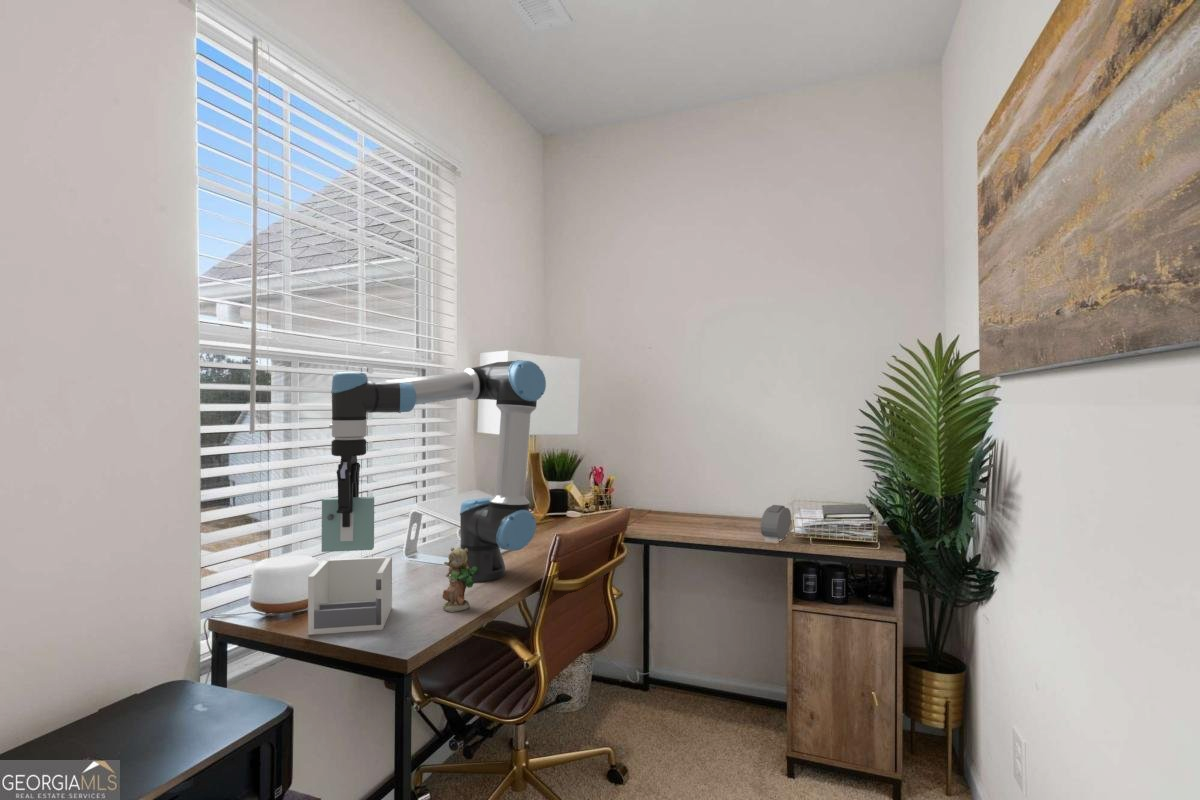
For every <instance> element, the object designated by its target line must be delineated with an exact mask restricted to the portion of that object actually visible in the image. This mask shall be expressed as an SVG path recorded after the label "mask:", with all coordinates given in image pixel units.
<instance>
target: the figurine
mask: <svg viewBox="0 0 1200 800" xmlns="http://www.w3.org/2000/svg"><path fill="white" fill-rule="evenodd" d="M450 551H451V552H450V553H449V555H448V557H447V558H448V561H445V562H443V564H444V565H446V566H448V572H447V573H446V574H445V577H446V578H447V579H448V582H449V585H448V587H447V589H443V592H442V599H443V600H444V601H447V602H446V603H444V605H443V606H442V609H443V610H444V611H445V612H451V613H454V612H461V611H465V610H467V609H469V607H470V605H471V604H470V603H469V601H468V600H467V599H465V592H466V589H467V588H469V589H471V588H473V586H474V584H475V582H473V578H472V576H473V575H474V574H475V573H477V570H478V568H477V567H472V568H471V569H469V567H468V564H467V560H468V556H467V551H468V549H466V548H465V550H463V549H462V548H461V547H457V548H454V547H452V548H450ZM468 569H469V570H468Z"/></svg>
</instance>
